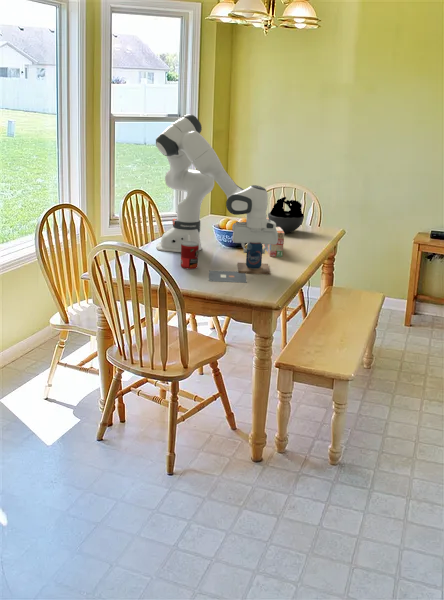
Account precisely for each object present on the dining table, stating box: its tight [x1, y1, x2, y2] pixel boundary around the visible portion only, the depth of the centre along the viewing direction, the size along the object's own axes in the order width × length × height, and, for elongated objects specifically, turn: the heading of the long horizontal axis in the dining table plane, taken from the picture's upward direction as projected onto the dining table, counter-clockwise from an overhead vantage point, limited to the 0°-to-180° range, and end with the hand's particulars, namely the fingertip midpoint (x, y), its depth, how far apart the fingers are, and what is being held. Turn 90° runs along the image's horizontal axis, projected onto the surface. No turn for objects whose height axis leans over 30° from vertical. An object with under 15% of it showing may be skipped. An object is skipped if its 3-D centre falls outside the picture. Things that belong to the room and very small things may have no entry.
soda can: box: [245, 242, 264, 269], centre depth 305 cm, size 7×7×12 cm
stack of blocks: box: [263, 227, 285, 258], centre depth 339 cm, size 21×6×12 cm, turn 5°
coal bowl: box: [267, 196, 305, 234], centre depth 380 cm, size 20×20×19 cm
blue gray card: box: [208, 269, 247, 284], centre depth 295 cm, size 16×16×1 cm
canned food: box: [180, 241, 200, 270], centre depth 305 cm, size 8×8×11 cm
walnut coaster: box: [236, 261, 271, 275], centre depth 308 cm, size 14×14×1 cm
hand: (254, 253), depth 305 cm, fingers open, 7 cm apart
